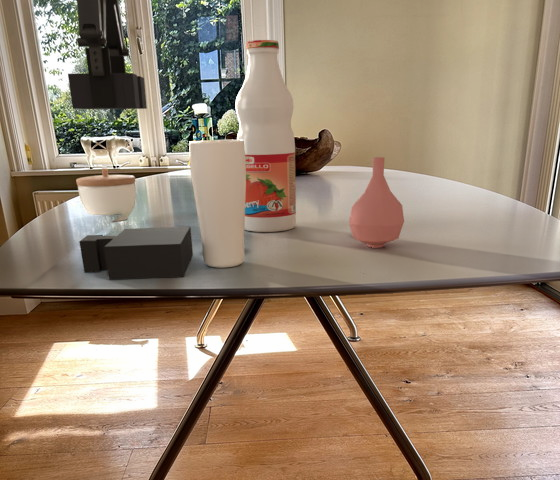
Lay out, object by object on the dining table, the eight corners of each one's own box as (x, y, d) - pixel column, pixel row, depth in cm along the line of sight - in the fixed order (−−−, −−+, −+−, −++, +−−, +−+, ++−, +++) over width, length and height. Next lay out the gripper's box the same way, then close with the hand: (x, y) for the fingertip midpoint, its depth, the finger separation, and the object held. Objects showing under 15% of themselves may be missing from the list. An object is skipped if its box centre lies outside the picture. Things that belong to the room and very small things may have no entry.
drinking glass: (190, 262, 79) (180, 141, 73) (236, 255, 82) (230, 139, 76) (210, 272, 74) (201, 143, 68) (259, 265, 77) (254, 140, 71)
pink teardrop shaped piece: (388, 239, 90) (392, 154, 85) (412, 249, 83) (417, 157, 78) (340, 243, 88) (341, 157, 83) (360, 253, 81) (363, 160, 77)
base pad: (75, 280, 72) (69, 247, 70) (99, 258, 83) (95, 229, 81) (183, 277, 72) (180, 243, 71) (193, 255, 83) (190, 226, 82)
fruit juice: (307, 226, 102) (306, 40, 91) (269, 235, 96) (263, 36, 84) (267, 221, 108) (262, 46, 97) (229, 229, 102) (218, 42, 90)
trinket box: (111, 214, 121) (104, 165, 118) (151, 217, 116) (145, 166, 113) (70, 222, 113) (61, 170, 109) (111, 226, 108) (104, 171, 104)
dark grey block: (72, 108, 76) (67, 73, 74) (90, 109, 85) (86, 78, 83) (135, 107, 76) (132, 72, 75) (146, 108, 85) (144, 77, 84)
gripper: (100, -131, 62) (125, 105, 70) (135, -69, 82) (151, 107, 91) (26, -132, 61) (61, 105, 70) (80, -69, 82) (101, 108, 91)
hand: (112, 106), depth 81 cm, fingers closed on dark grey block, 10 cm apart
